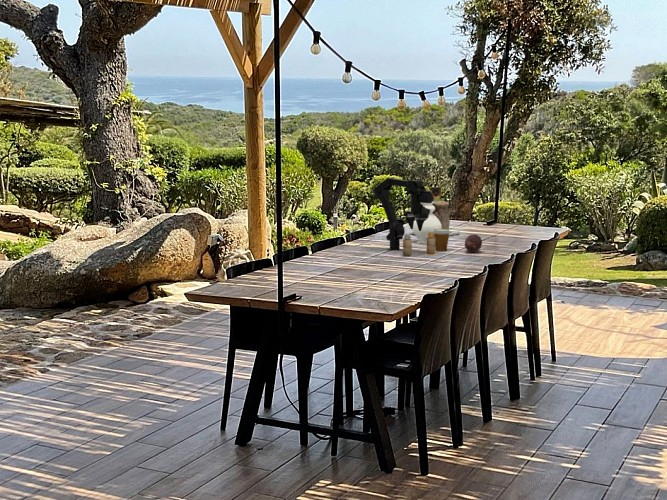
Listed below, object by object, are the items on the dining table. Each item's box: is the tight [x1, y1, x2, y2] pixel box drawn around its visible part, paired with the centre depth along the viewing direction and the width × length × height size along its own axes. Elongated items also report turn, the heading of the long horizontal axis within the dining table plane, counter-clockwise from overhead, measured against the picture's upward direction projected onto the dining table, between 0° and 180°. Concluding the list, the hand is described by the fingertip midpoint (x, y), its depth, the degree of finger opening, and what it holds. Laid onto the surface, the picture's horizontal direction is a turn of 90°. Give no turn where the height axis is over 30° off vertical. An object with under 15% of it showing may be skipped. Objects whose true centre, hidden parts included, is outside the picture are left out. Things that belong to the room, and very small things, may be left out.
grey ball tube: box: [402, 233, 413, 258], centre depth 473 cm, size 5×5×12 cm
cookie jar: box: [409, 185, 461, 237], centre depth 561 cm, size 25×25×32 cm
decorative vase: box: [411, 202, 442, 245], centre depth 526 cm, size 18×18×25 cm
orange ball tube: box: [425, 232, 436, 256], centre depth 480 cm, size 5×5×12 cm
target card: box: [400, 252, 438, 258], centre depth 477 cm, size 11×22×1 cm, turn 114°
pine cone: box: [464, 234, 483, 253], centre depth 492 cm, size 18×10×10 cm, turn 164°
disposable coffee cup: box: [433, 229, 450, 252], centre depth 497 cm, size 10×10×12 cm
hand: (415, 230), depth 487 cm, fingers open, 9 cm apart
